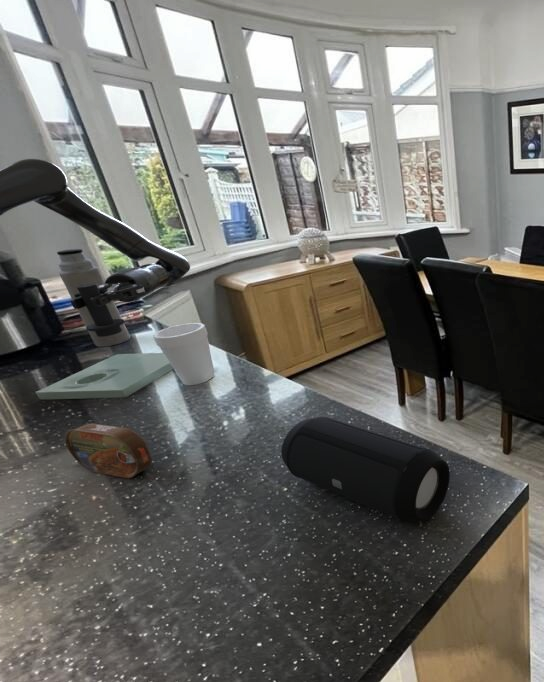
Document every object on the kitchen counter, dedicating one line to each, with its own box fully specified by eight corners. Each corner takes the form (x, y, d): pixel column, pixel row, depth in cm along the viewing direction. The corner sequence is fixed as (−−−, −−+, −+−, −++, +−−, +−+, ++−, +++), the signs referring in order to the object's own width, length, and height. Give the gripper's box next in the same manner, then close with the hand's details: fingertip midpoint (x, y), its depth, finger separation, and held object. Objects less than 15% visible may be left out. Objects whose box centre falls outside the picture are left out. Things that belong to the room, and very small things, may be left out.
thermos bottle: (97, 341, 121) (51, 250, 110) (131, 334, 126) (90, 246, 115) (93, 349, 116) (45, 254, 104) (129, 341, 120) (86, 249, 109)
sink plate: (39, 399, 89) (35, 392, 89) (119, 360, 108) (116, 354, 107) (125, 397, 89) (122, 389, 88) (191, 358, 108) (189, 351, 107)
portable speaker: (285, 487, 62) (267, 435, 58) (335, 449, 70) (323, 401, 66) (415, 545, 52) (404, 487, 47) (456, 493, 60) (450, 439, 56)
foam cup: (167, 391, 91) (144, 340, 86) (185, 373, 99) (165, 325, 94) (214, 384, 93) (194, 334, 88) (227, 367, 102) (210, 320, 96)
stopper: (82, 339, 92) (56, 290, 87) (109, 328, 98) (86, 282, 93) (110, 338, 92) (86, 289, 87) (135, 327, 98) (113, 281, 93)
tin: (77, 469, 67) (52, 428, 64) (99, 457, 70) (76, 417, 67) (143, 482, 64) (121, 440, 60) (163, 469, 67) (143, 428, 63)
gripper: (96, 272, 101) (38, 290, 86) (158, 267, 104) (112, 285, 88) (109, 299, 104) (55, 322, 89) (169, 294, 107) (127, 316, 91)
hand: (84, 303), depth 89 cm, fingers closed on stopper, 3 cm apart
